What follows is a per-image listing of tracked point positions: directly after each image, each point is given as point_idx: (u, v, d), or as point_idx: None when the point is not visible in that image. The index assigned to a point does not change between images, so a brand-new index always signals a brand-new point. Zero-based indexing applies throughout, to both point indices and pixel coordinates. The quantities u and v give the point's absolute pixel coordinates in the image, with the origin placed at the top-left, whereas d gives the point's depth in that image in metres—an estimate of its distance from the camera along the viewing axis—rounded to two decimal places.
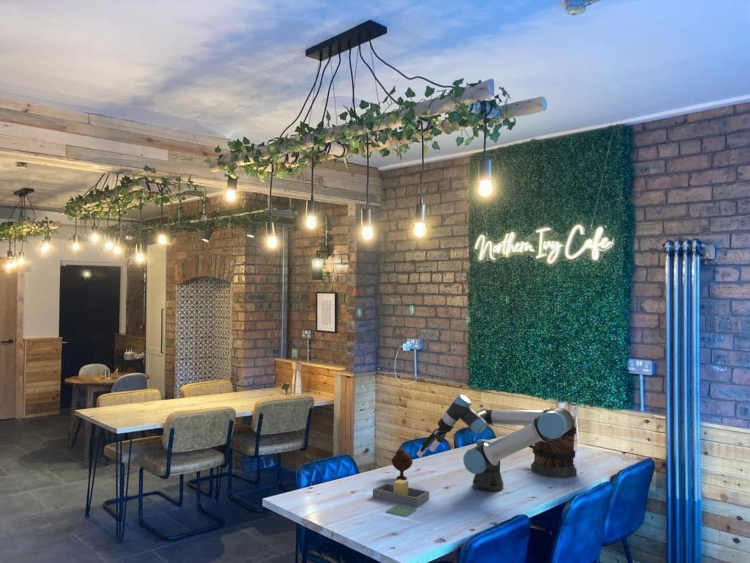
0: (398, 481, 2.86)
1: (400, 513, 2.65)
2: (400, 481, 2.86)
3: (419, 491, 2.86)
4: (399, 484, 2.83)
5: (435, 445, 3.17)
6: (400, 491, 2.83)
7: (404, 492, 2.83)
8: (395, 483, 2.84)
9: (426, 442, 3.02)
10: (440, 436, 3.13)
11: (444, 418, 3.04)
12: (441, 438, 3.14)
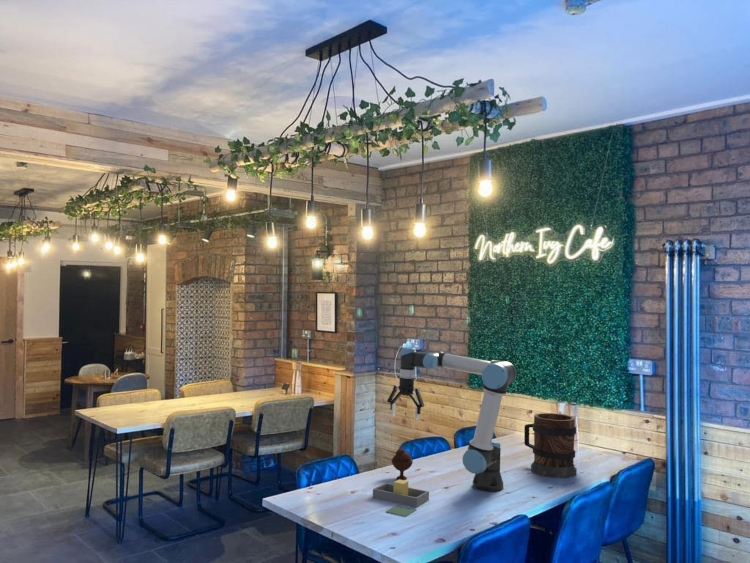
0: (398, 481, 2.86)
1: (400, 513, 2.65)
2: (400, 481, 2.86)
3: (419, 491, 2.86)
4: (399, 484, 2.83)
5: None
6: (400, 491, 2.83)
7: (404, 492, 2.83)
8: (395, 483, 2.84)
9: None
10: (412, 398, 3.17)
11: None
12: (414, 401, 3.16)
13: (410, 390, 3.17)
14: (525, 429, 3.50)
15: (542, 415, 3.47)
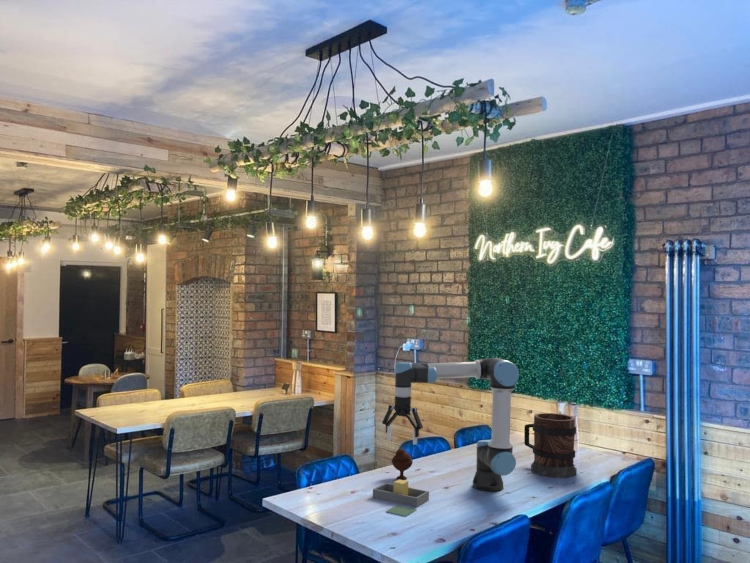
0: (398, 481, 2.86)
1: (400, 513, 2.65)
2: (400, 481, 2.86)
3: (419, 491, 2.86)
4: (399, 484, 2.83)
5: None
6: (400, 491, 2.83)
7: (404, 492, 2.83)
8: (395, 483, 2.84)
9: None
10: (409, 419, 2.84)
11: None
12: (411, 422, 2.82)
13: (407, 410, 2.84)
14: (525, 429, 3.50)
15: (542, 415, 3.47)
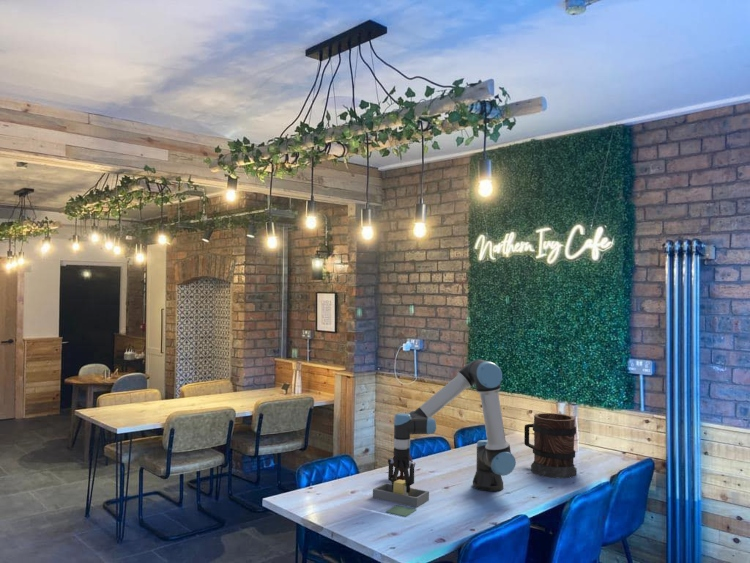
0: (398, 481, 2.86)
1: (400, 513, 2.65)
2: (400, 481, 2.86)
3: (419, 491, 2.86)
4: (399, 484, 2.83)
5: None
6: (400, 491, 2.83)
7: None
8: (395, 483, 2.84)
9: None
10: (404, 472, 2.84)
11: None
12: (405, 477, 2.83)
13: (405, 462, 2.83)
14: (525, 429, 3.50)
15: (542, 415, 3.47)
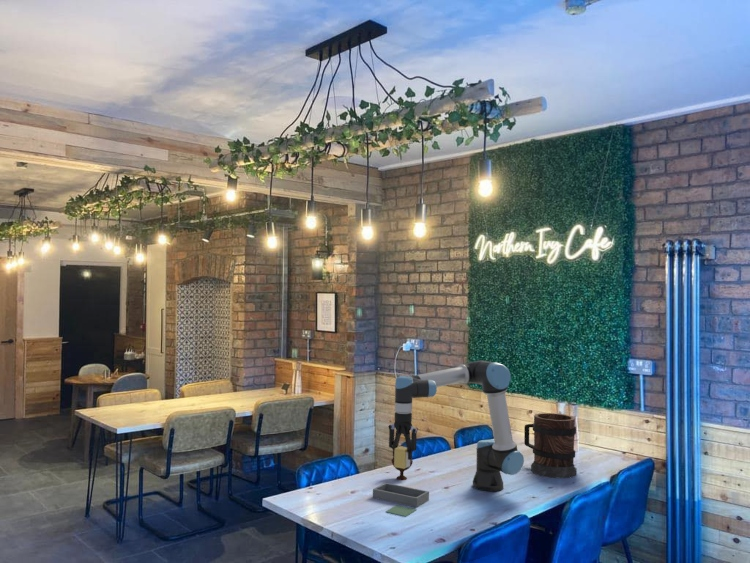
0: (399, 448, 2.70)
1: (400, 513, 2.65)
2: (402, 447, 2.70)
3: (419, 491, 2.86)
4: (400, 450, 2.67)
5: None
6: (402, 458, 2.67)
7: (405, 459, 2.67)
8: (396, 450, 2.69)
9: None
10: None
11: None
12: (406, 443, 2.68)
13: (407, 427, 2.68)
14: (525, 429, 3.50)
15: (542, 415, 3.47)
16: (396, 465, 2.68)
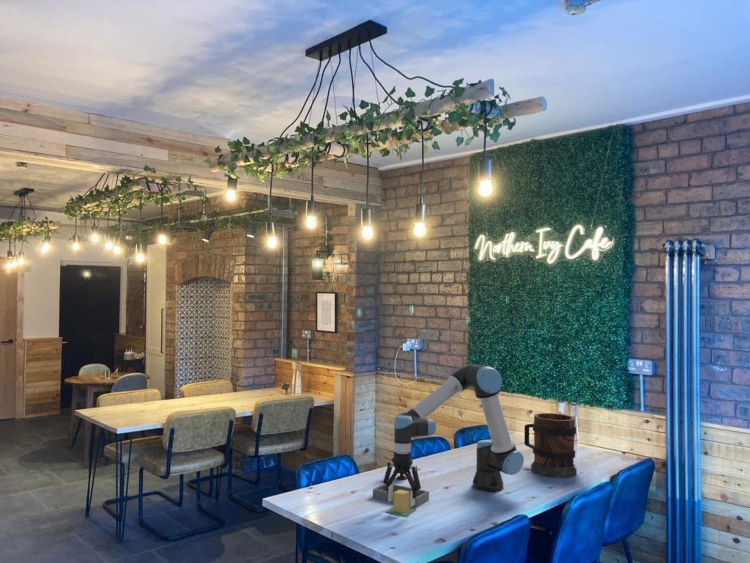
0: (399, 491, 2.69)
1: (400, 513, 2.65)
2: (401, 491, 2.70)
3: (419, 491, 2.86)
4: (400, 495, 2.67)
5: None
6: (401, 502, 2.67)
7: (405, 503, 2.67)
8: (395, 494, 2.68)
9: None
10: None
11: None
12: (409, 482, 2.66)
13: (406, 467, 2.67)
14: (525, 429, 3.50)
15: (542, 415, 3.47)
16: (395, 509, 2.68)
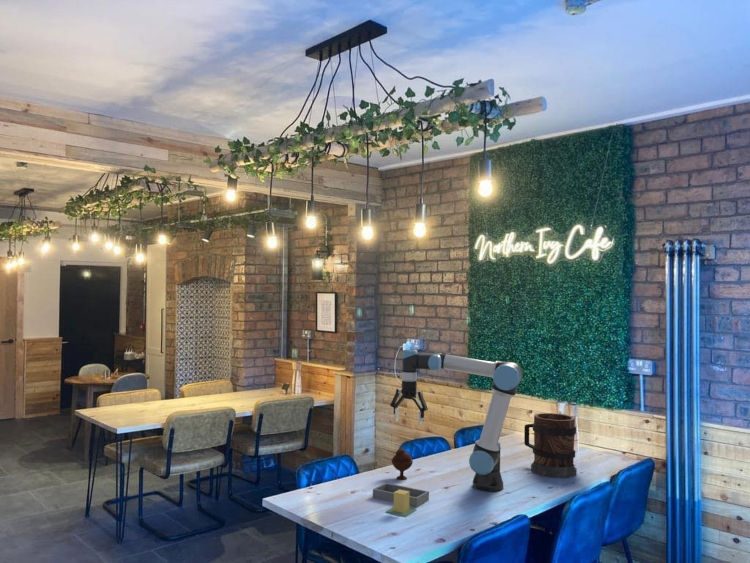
0: (399, 491, 2.69)
1: (400, 513, 2.65)
2: (401, 491, 2.70)
3: (419, 491, 2.86)
4: (400, 495, 2.67)
5: None
6: (401, 502, 2.67)
7: (405, 503, 2.67)
8: (395, 494, 2.68)
9: None
10: (415, 402, 3.08)
11: None
12: (417, 404, 3.07)
13: (413, 393, 3.08)
14: (525, 429, 3.50)
15: (542, 415, 3.47)
16: (395, 509, 2.68)
